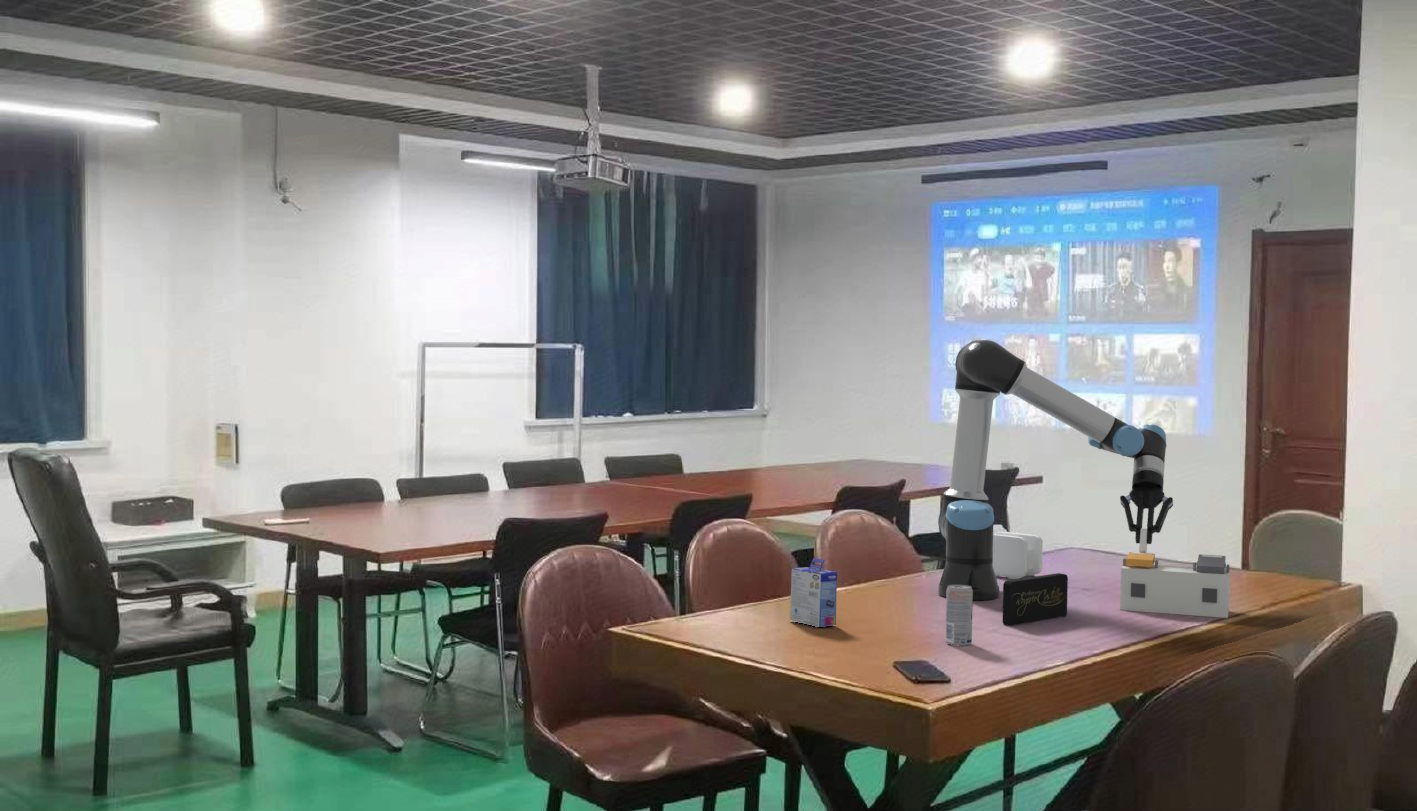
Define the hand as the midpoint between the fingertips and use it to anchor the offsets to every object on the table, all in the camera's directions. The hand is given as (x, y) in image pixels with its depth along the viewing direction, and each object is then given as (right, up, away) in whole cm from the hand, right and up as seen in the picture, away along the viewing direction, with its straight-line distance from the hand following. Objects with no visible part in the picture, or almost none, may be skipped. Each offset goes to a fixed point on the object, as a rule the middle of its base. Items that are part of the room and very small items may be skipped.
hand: (1142, 553), depth 331 cm
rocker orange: (-2, -1, -4) cm, 4 cm away
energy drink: (-54, -14, -48) cm, 74 cm away
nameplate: (-31, -13, -21) cm, 40 cm away
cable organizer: (-22, -11, +45) cm, 51 cm away
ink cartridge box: (-83, -13, -29) cm, 88 cm away
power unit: (+6, -13, -7) cm, 16 cm away
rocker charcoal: (+13, -1, -10) cm, 17 cm away
